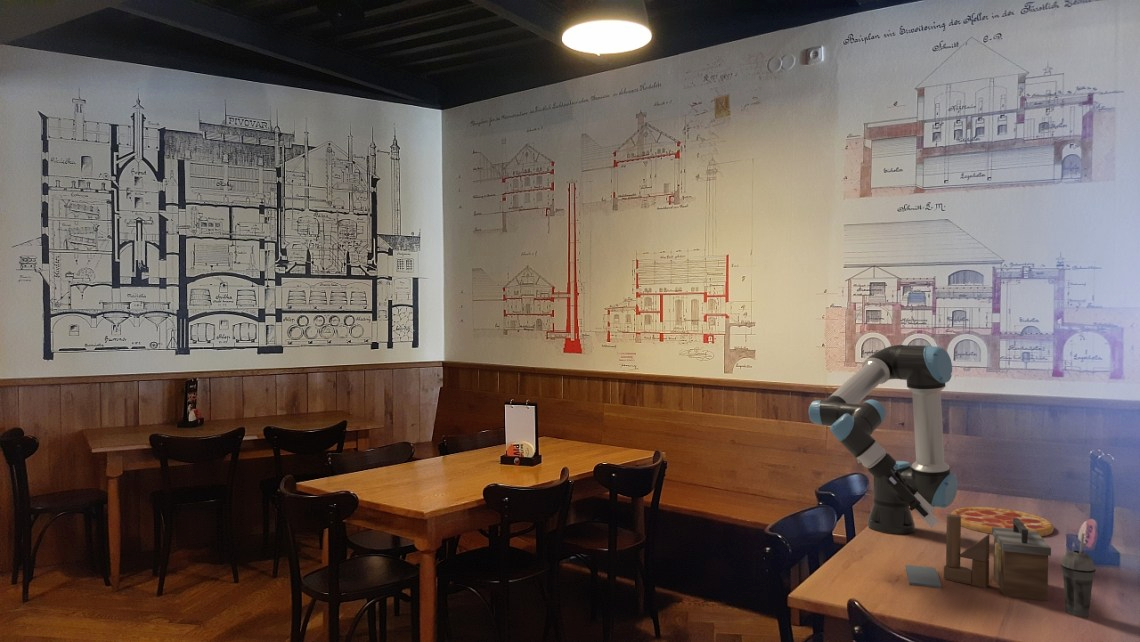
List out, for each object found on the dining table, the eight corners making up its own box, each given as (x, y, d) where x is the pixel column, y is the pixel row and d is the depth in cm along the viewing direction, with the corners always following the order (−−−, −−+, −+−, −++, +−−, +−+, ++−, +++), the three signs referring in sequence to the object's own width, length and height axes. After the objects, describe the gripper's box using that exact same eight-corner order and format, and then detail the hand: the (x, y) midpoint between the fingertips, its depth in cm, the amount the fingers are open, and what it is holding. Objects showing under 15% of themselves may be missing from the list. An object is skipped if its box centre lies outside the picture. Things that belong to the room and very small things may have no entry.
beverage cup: (1053, 608, 195) (1054, 529, 195) (1080, 607, 196) (1081, 529, 195) (1074, 619, 188) (1075, 538, 187) (1102, 618, 188) (1103, 537, 188)
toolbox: (991, 575, 219) (992, 514, 219) (1035, 580, 215) (1036, 518, 215) (1002, 596, 203) (1003, 529, 203) (1050, 601, 199) (1051, 534, 199)
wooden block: (985, 588, 209) (986, 522, 209) (943, 579, 216) (944, 515, 216) (989, 585, 211) (990, 519, 211) (947, 576, 218) (948, 513, 218)
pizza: (1074, 539, 257) (1074, 531, 257) (978, 538, 258) (978, 529, 258) (1020, 514, 289) (1020, 506, 289) (934, 513, 290) (934, 505, 290)
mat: (905, 566, 226) (905, 564, 226) (935, 570, 224) (935, 567, 224) (909, 584, 211) (909, 582, 211) (941, 588, 208) (941, 586, 208)
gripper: (866, 461, 234) (919, 515, 228) (867, 477, 210) (926, 538, 205) (885, 445, 232) (939, 499, 226) (888, 459, 208) (948, 520, 203)
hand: (933, 518), depth 216 cm, fingers open, 13 cm apart
